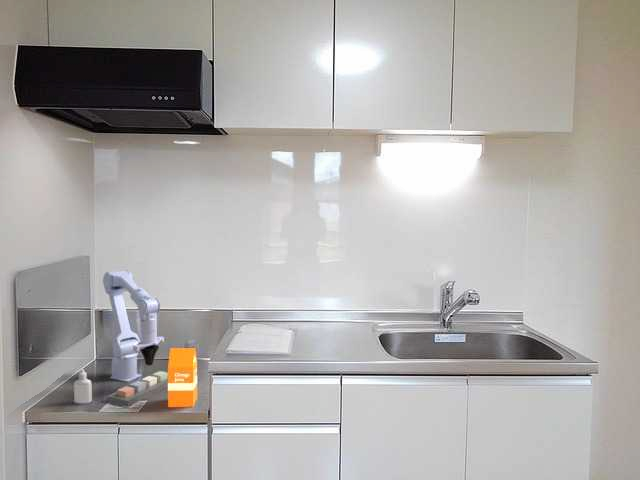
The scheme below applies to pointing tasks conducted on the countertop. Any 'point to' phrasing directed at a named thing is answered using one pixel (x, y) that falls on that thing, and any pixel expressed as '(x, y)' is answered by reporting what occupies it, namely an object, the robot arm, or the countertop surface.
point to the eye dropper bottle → (82, 389)
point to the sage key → (161, 375)
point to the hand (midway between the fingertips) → (149, 364)
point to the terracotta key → (125, 392)
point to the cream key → (150, 380)
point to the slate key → (138, 386)
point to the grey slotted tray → (137, 394)
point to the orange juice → (182, 377)
